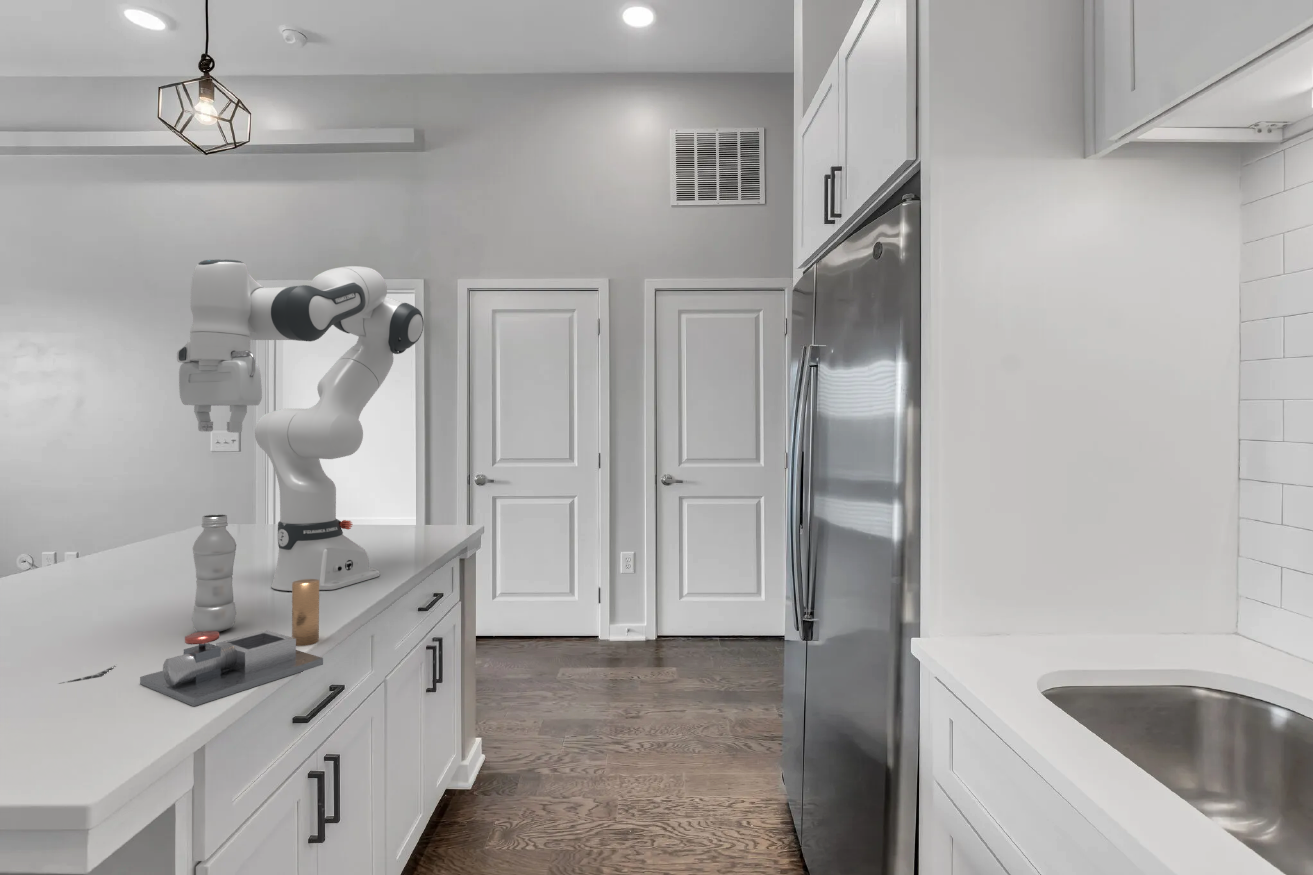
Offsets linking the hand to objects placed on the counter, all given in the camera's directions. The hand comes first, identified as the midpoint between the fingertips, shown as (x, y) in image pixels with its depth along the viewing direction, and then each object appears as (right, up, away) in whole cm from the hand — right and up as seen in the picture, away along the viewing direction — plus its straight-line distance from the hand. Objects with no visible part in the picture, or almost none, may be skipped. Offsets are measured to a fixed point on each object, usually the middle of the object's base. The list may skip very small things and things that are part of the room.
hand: (219, 432), depth 119 cm
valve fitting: (+15, -35, -20) cm, 43 cm away
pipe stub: (+18, -35, -5) cm, 39 cm away
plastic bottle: (0, -35, -1) cm, 35 cm away
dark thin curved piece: (-5, -36, -21) cm, 42 cm away
